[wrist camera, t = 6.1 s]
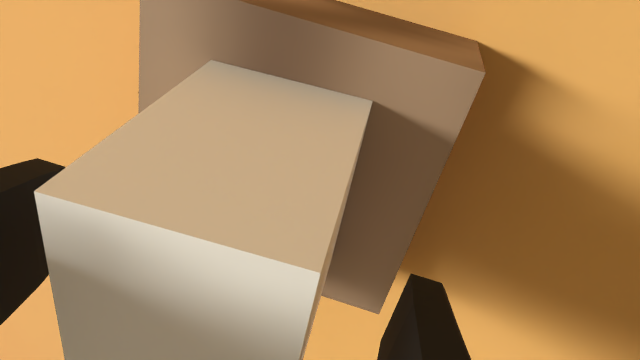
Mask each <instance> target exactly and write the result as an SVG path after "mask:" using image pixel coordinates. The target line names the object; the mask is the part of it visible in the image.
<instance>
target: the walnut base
mask: <svg viewBox="0 0 640 360" xmlns="http://www.w3.org/2000/svg"><path fill="white" fill-rule="evenodd" d="M210 60H213V61H217V62H221V63H225V64H229V65H233V66H237V67H241V68H245V69H249V70H253V71H257V72H261V73H265V74H269V75H273V76H276V77H280V78H284V79H288V80H292V81H296V82H300V83H304V84H308V85H312V86H316V87H320V88H324V89H328V90H332V91H336V92H340V93H343V94H347V95H351V96H355V97H359V98H363V99H367V100H371V101H373V102H372V106H371V109H370V113H369V117H368V121H367V125H366V129H365V132H364V136H363V140H362V144H361V148H360V152H359V155H358V159H357V163H356V167H355V171H354V175H353V178H352V182H351V186H350V190H349V194H348V198H347V201H346V205H345V209H344V213H343V217H342V221H341V224H340V228H339V232H338V236H337V240H336V244H335V247H334V251H333V255H332V259H331V262H330V266H329V269H328V273H327V276H326V280H325V283H324V287H323V290H322V294H321V296H324V297H327V298H330V299H333V300H336V301H340V302H343V303H346V304H349V305H352V306H355V307H358V308H361V309H364V310H367V311H370V312H373V313H376V314H379V313H380V311H381V308H382V306H383V304H384V302H385V299H386V297H387V295H388V292H389V290H390V288H391V286H392V283H393V281H394V279H395V277H396V274H397V272H398V270H399V268H400V265H401V263H402V261H403V259H404V256H405V254H406V252H407V250H408V247H409V245H410V243H411V241H412V238H413V236H414V234H415V231H416V229H417V227H418V225H419V222H420V220H421V218H422V216H423V213H424V211H425V209H426V207H427V204H428V202H429V200H430V198H431V195H432V193H433V191H434V189H435V186H436V184H437V182H438V179H439V177H440V175H441V173H442V170H443V168H444V166H445V164H446V161H447V159H448V157H449V155H450V152H451V150H452V148H453V146H454V143H455V141H456V139H457V137H458V134H459V132H460V130H461V128H462V125H463V123H464V121H465V118H466V116H467V114H468V112H469V109H470V107H471V105H472V103H473V100H474V98H475V96H476V94H477V91H478V89H479V87H480V85H481V82H482V80H483V78H484V76H485V73H486V72H485V68H484V65H483V61H482V57H481V54H480V50H479V46H478V43H477V41H475V40H471V39H468V38H464V37H461V36H457V35H454V34H450V33H447V32H443V31H440V30H436V29H433V28H430V27H426V26H423V25H419V24H416V23H412V22H409V21H405V20H402V19H398V18H395V17H391V16H388V15H385V14H381V13H378V12H374V11H371V10H367V9H364V8H360V7H357V6H353V5H350V4H347V3H343V2H340V1H336V0H140V43H139V113H140V112H142V111H143V110H144V109H146V108H147V107H148V106H150V105H151V104H152V103H154V102H155V101H156V100H158V99H159V98H160V97H162V96H163V95H165V94H166V93H167V92H169V91H170V90H171V89H173V88H174V87H175V86H177V85H178V84H179V83H181V82H182V81H183V80H185V79H186V78H187V77H189V76H190V75H192V74H193V73H194V72H196V71H197V70H198V69H200V68H201V67H202V66H204V65H205V64H206V63H208V62H209V61H210Z"/></svg>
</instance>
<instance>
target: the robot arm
mask: <svg viewBox="0 0 640 360" xmlns="http://www.w3.org/2000/svg"><path fill="white" fill-rule="evenodd" d="M63 169H65V167H64V166H61V165H57V164H54V163H51V162H48V161H44V160H41V159H38V158H37V159H33V160H29V161H25V162H21V163H17V164H13V165H10V166H7V167H3V168H0V325H1V324H2V323H3V322H4V321H5V320H6V319H7V318H8V317H9V316H10V315H11V314H12V313H13V312H14V311H15V310H16V309H17V308H18V307H19V306H20V305H21V304H22V303H23V302H24V301H25V300H26V299H27V298H28V297H29V296H30V295H31V294H32V293H33V292H34V291H35V290H36V289H37V288H38V287H39V285H40V284H41V283H42V282H43V281H44V280H45V278H46V277H47V276H48V275H49V271H48V265H47V260H46V254H45V249H44V244H43V238H42V233H41V227H40V222H39V216H38V211H37V206H36V200H35V195H34V191H35V190H36V189H38V188H39V187H40V186H42V185H43V184H44V183H46V182H47V181H48V180H50V179H51V178H52V177H54V176H55V175H57V174H58V173H59V172H61V171H62V170H63ZM377 360H471V358H470V355H469V353H468V351H467V348H466V345H465V343H464V340H463V338H462V335H461V333H460V330H459V327H458V325H457V322H456V319H455V316H454V314H453V311H452V308H451V305H450V302H449V300H448V297H447V294H446V291H445V289H444V287H443V285H442V283H440V282H436V281H433V280H430V279H427V278H423V277H420V276H417V275H414V274H410V277H409V279H408V281H407V283H406V286H405V288H404V290H403V292H402V294H401V297H400V299H399V301H398V303H397V306H396V308H395V310H394V312H393V315H392V317H391V319H390V321H389V323H388V326H387V328H386V330H385V332H384V335H383V337H382V339H381V342H380V348H379V353H378V359H377Z"/></svg>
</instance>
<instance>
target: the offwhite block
mask: <svg viewBox="0 0 640 360" xmlns="http://www.w3.org/2000/svg"><path fill="white" fill-rule="evenodd" d="M372 102H373V101H371V100H367V99H363V98H359V97H355V96H351V95H347V94H343V93H340V92H336V91H332V90H328V89H324V88H320V87H316V86H312V85H308V84H304V83H300V82H296V81H292V80H288V79H284V78H280V77H276V76H273V75H269V74H265V73H261V72H257V71H253V70H249V69H245V68H241V67H237V66H233V65H229V64H225V63H221V62H217V61H213V60H210V61H209V62H208V63H206V64H205V65H204V66H202V67H201V68H200V69H198V70H197V71H196V72H194V73H193V74H192V75H190V76H189V77H187V78H186V79H185V80H183V81H182V82H181V83H179V84H178V85H177V86H175V87H174V88H173V89H171V90H170V91H169V92H167V93H166V94H165V95H163V96H162V97H160V98H159V99H158V100H156V101H155V102H154V103H152V104H151V105H150V106H148V107H147V108H146V109H144V110H143V111H142V112H140V113H139V114H138V115H136V116H135V117H133V118H132V119H131V120H129V121H128V122H127V123H125V124H124V125H123V126H121V127H120V128H119V129H117V130H116V131H115V132H113V133H112V134H111V135H109V136H108V137H106V138H105V139H104V140H102V141H101V142H100V143H98V144H97V145H96V146H94V147H93V148H92V149H90V150H89V151H88V152H86V153H85V154H84V155H82V156H81V157H79V158H78V159H77V160H75V161H74V162H73V163H71V164H70V165H69V166H67V167H66V168H65V169H63V170H62V171H61V172H59V173H58V174H57V175H55V176H54V177H52V178H51V179H50V180H48V181H47V182H46V183H44V184H43V185H42V186H40V187H39V188H38V189H36V190H35V191H34V195H35V200H36V206H37V211H38V216H39V222H40V227H41V233H42V238H43V244H44V249H45V254H46V260H47V265H48V271H49V276H50V282H51V287H52V292H53V298H54V303H55V309H56V314H57V320H58V325H59V330H60V336H61V341H62V347H63V352H64V358H65V360H303V357H304V354H305V350H306V346H307V343H308V339H309V336H310V332H311V329H312V325H313V322H314V318H315V315H316V311H317V308H318V304H319V301H320V297H321V294H322V290H323V287H324V283H325V280H326V276H327V273H328V269H329V266H330V262H331V259H332V255H333V251H334V247H335V244H336V240H337V236H338V232H339V228H340V224H341V221H342V217H343V213H344V209H345V205H346V201H347V198H348V194H349V190H350V186H351V182H352V178H353V175H354V171H355V167H356V163H357V159H358V155H359V152H360V148H361V144H362V140H363V136H364V132H365V129H366V125H367V121H368V117H369V113H370V109H371V106H372Z"/></svg>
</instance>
